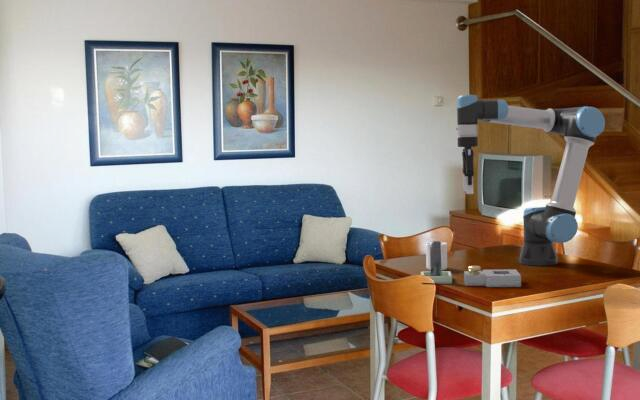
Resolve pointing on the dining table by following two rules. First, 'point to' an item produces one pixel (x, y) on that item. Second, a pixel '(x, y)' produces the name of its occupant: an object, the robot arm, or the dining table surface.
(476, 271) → the brass knob
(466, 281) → the socket block
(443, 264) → the mug
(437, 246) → the gray rectangular peg
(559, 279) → the dining table surface
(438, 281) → the tray
